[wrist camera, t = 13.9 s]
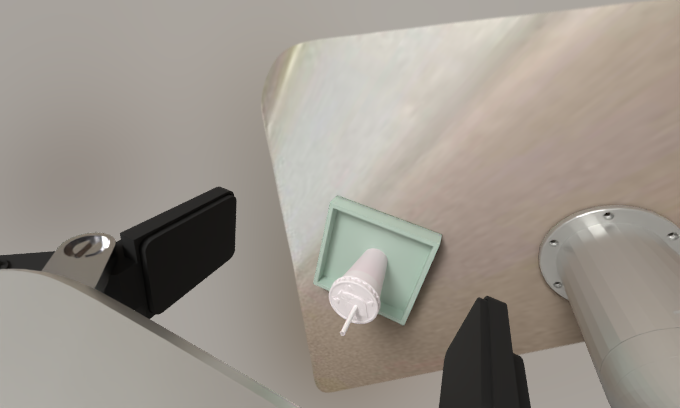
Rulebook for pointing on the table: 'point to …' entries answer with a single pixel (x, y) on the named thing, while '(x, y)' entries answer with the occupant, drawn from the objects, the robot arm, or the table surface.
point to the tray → (386, 235)
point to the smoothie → (360, 289)
